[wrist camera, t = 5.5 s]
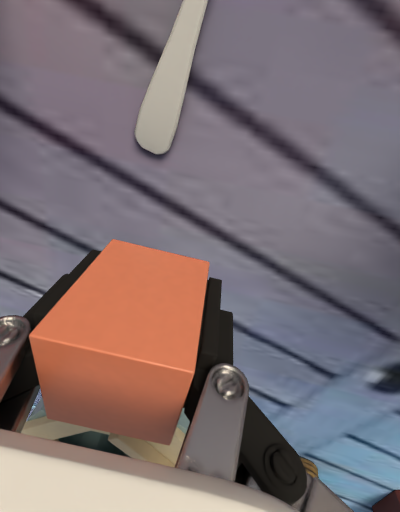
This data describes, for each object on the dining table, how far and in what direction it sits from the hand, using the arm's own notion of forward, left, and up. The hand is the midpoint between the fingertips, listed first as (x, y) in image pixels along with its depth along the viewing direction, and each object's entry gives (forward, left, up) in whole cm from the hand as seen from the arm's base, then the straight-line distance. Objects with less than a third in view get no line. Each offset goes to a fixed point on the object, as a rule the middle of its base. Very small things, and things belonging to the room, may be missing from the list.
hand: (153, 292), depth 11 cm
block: (0, 0, 0) cm, 0 cm away
